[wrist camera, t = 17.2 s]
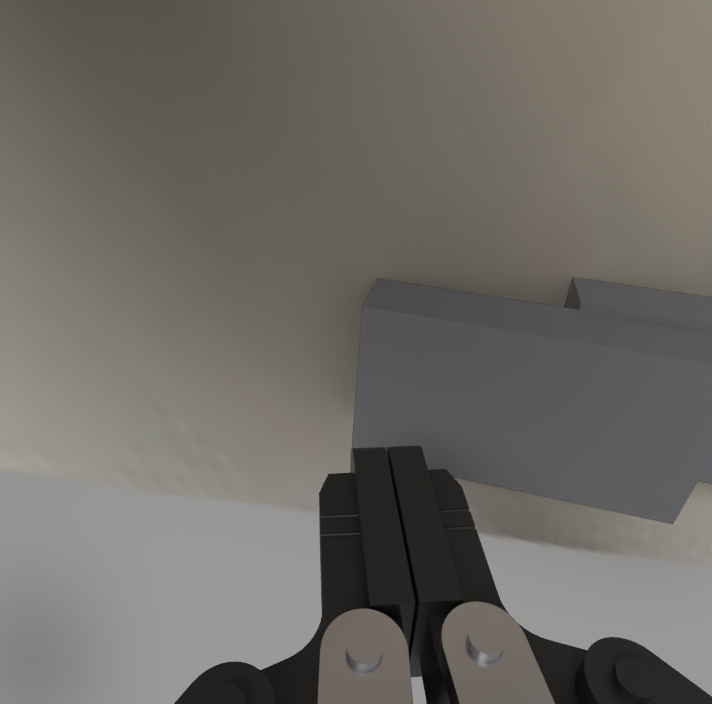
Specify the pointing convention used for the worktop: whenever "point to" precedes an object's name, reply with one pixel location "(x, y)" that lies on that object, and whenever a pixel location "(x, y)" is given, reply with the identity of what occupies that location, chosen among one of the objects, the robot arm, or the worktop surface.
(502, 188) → the worktop surface
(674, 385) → the domino
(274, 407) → the worktop surface
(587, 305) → the domino
